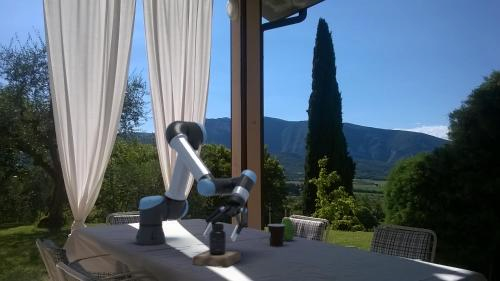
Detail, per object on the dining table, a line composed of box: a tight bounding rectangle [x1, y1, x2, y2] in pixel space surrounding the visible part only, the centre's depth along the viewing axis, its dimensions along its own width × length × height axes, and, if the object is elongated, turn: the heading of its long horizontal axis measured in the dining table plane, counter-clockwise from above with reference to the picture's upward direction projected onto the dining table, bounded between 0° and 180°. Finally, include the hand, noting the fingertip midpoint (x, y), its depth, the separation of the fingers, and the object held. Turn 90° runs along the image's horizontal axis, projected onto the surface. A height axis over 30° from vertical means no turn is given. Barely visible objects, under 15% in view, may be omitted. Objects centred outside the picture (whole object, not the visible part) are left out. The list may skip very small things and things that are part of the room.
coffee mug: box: [267, 223, 285, 247], centre depth 220 cm, size 12×9×10 cm
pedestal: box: [192, 250, 242, 268], centre depth 179 cm, size 15×15×3 cm
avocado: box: [281, 217, 296, 242], centre depth 232 cm, size 8×8×12 cm
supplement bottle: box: [208, 223, 227, 255], centre depth 180 cm, size 7×7×12 cm
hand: (218, 238), depth 180 cm, fingers open, 13 cm apart
